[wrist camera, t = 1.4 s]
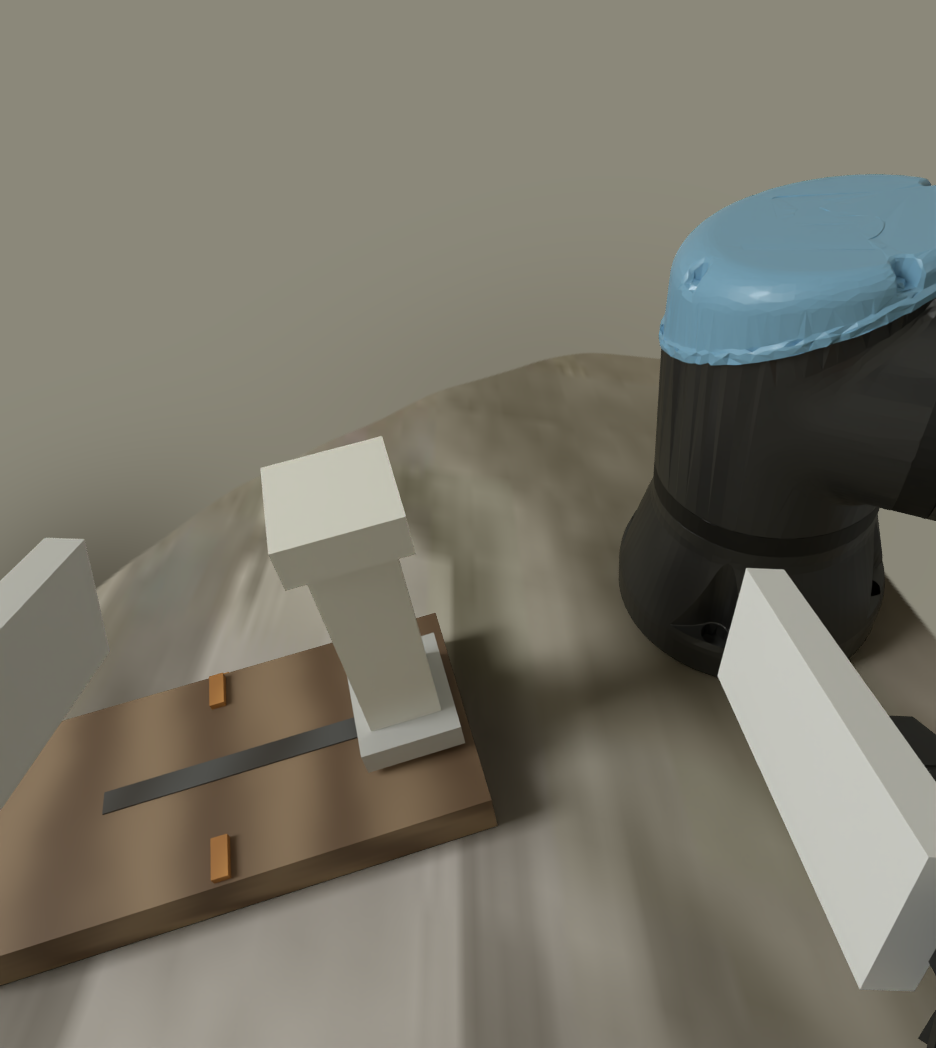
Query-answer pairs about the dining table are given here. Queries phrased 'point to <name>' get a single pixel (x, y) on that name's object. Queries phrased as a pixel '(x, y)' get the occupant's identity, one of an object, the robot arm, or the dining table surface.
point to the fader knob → (362, 594)
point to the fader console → (213, 808)
